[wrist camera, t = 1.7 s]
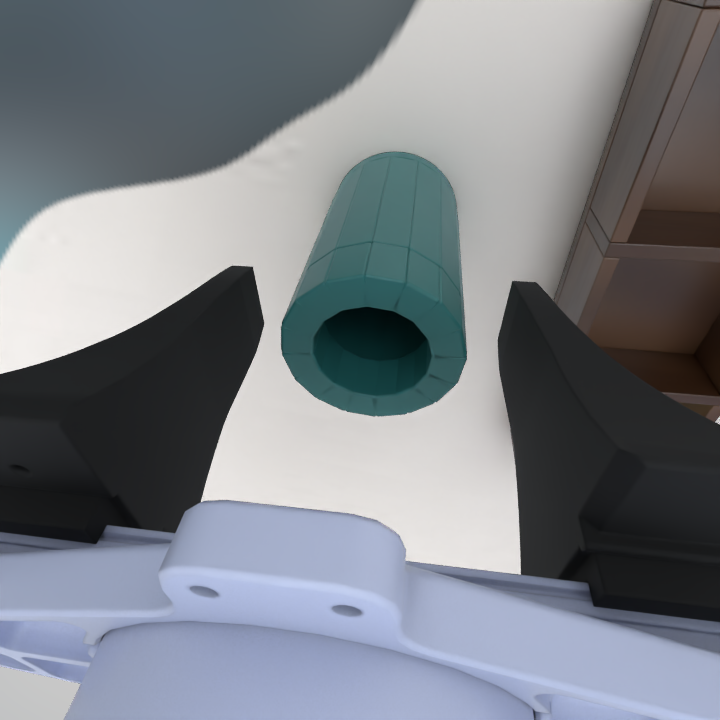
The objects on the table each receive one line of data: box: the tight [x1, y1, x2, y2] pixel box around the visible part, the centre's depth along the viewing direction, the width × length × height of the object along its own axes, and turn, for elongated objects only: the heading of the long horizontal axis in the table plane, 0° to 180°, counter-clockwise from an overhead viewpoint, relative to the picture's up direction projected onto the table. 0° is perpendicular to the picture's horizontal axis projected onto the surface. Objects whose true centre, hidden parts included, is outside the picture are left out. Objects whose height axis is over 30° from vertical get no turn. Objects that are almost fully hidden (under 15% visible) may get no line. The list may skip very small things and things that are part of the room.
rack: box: [511, 0, 720, 465], centre depth 17 cm, size 19×7×3 cm, turn 1°
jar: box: [281, 152, 467, 416], centre depth 14 cm, size 5×5×8 cm
